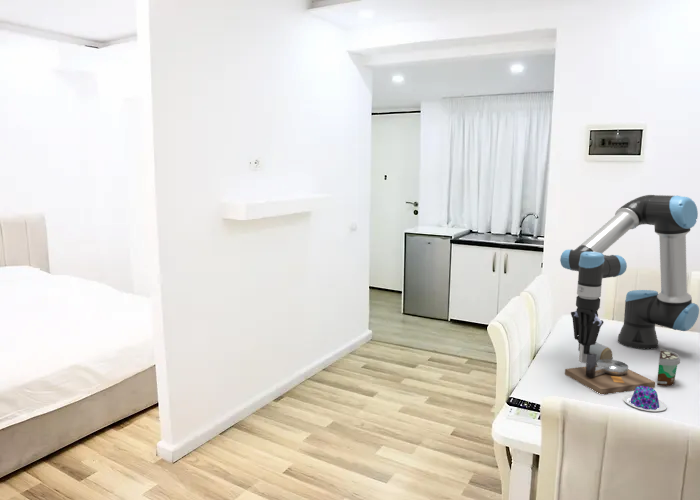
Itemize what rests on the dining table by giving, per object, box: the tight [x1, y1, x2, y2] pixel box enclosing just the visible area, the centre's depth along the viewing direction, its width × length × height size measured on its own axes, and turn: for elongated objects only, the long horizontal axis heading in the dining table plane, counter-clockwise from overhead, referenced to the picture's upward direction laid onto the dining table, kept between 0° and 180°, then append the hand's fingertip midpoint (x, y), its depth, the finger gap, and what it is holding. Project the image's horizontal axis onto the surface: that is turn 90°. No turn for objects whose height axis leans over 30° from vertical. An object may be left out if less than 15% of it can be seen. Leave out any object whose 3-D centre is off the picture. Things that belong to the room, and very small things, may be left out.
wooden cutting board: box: [564, 364, 656, 395], centre depth 181 cm, size 22×18×2 cm
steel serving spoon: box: [585, 353, 629, 378], centre depth 182 cm, size 18×10×8 cm, turn 119°
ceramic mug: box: [589, 341, 614, 364], centre depth 198 cm, size 11×8×8 cm
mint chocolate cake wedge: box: [656, 348, 681, 387], centre depth 179 cm, size 12×6×10 cm, turn 148°
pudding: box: [623, 386, 668, 412], centre depth 163 cm, size 12×12×5 cm
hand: (583, 361), depth 181 cm, fingers closed
